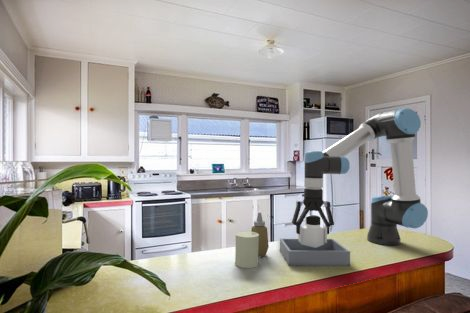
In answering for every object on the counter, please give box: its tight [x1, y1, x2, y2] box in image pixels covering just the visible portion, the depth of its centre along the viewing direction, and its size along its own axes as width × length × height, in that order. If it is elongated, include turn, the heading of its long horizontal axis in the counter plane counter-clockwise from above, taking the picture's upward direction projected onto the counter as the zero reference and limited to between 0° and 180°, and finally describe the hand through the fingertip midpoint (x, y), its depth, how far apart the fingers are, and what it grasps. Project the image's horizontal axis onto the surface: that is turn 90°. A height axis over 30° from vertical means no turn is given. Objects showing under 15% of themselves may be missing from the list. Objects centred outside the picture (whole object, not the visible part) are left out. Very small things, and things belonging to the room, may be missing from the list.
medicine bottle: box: [301, 214, 324, 248], centre depth 124 cm, size 7×7×12 cm
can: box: [234, 230, 259, 269], centre depth 116 cm, size 9×9×12 cm
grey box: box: [279, 238, 351, 267], centre depth 124 cm, size 24×18×6 cm
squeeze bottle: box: [250, 212, 270, 258], centre depth 126 cm, size 8×8×18 cm
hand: (312, 241), depth 124 cm, fingers closed on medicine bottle, 10 cm apart
